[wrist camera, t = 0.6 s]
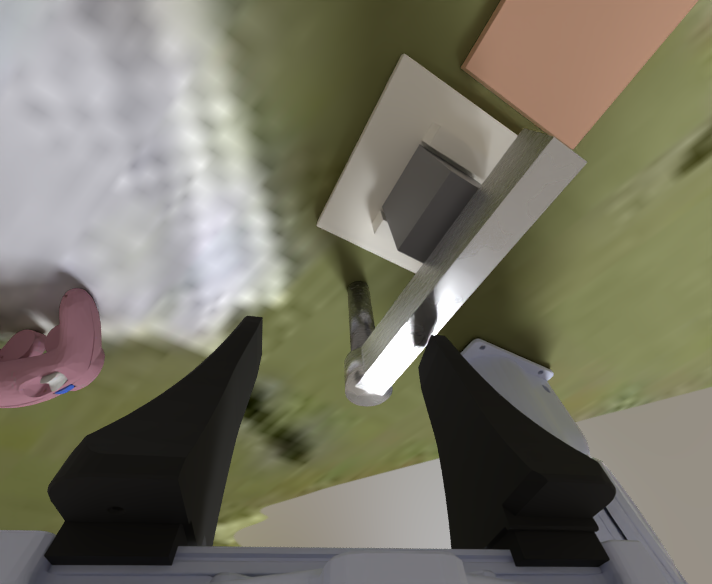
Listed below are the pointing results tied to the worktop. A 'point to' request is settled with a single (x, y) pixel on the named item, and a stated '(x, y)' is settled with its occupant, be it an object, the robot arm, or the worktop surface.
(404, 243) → the plug
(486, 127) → the socket
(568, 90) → the tile
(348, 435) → the worktop surface
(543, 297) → the worktop surface
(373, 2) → the worktop surface
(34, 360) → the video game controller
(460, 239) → the white square rod
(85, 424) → the worktop surface
